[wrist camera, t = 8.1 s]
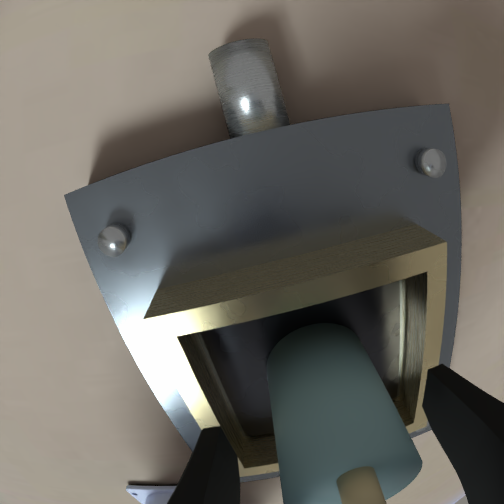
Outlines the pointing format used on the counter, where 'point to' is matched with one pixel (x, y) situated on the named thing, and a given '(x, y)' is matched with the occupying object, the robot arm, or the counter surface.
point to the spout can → (335, 421)
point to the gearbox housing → (279, 252)
